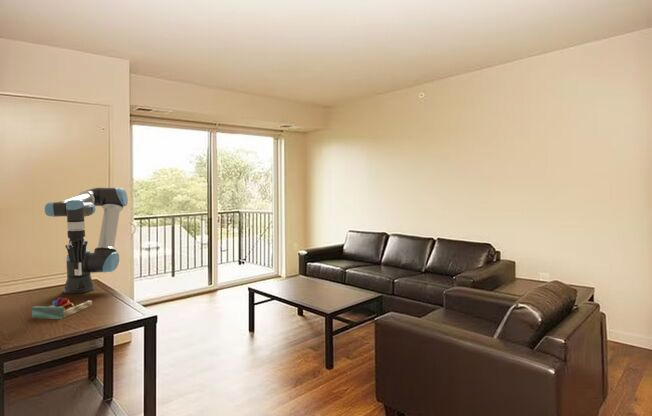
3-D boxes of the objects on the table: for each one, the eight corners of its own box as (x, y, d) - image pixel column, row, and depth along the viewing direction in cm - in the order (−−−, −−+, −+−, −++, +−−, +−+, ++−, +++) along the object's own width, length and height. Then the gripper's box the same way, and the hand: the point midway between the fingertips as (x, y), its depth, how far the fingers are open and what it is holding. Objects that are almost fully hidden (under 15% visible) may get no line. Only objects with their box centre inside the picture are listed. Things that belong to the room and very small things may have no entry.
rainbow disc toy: (63, 315, 183) (63, 300, 182) (45, 314, 184) (44, 300, 183) (77, 310, 191) (76, 295, 191) (59, 309, 192) (58, 295, 192)
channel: (66, 304, 200) (66, 294, 200) (92, 305, 199) (91, 295, 198) (32, 318, 179) (31, 307, 179) (60, 319, 178) (60, 308, 177)
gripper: (78, 228, 203) (80, 271, 205) (59, 231, 190) (61, 278, 192) (91, 228, 203) (93, 272, 205) (73, 231, 190) (75, 278, 192)
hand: (78, 274), depth 198 cm, fingers closed
